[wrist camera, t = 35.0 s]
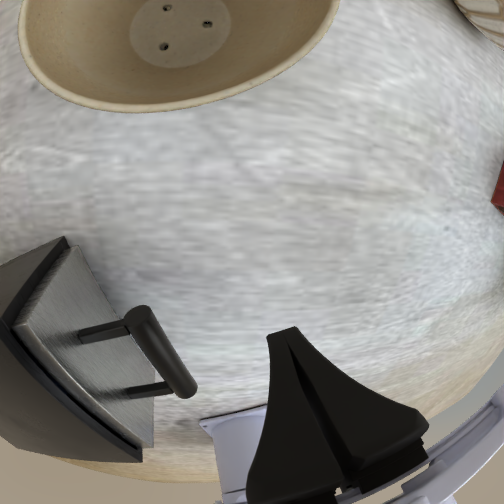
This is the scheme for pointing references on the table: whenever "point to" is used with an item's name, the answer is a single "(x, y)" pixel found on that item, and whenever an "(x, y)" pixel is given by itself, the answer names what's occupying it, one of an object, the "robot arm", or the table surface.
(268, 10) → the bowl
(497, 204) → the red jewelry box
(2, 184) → the table surface
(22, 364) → the black box
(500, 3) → the vase
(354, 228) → the table surface
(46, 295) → the drawer
